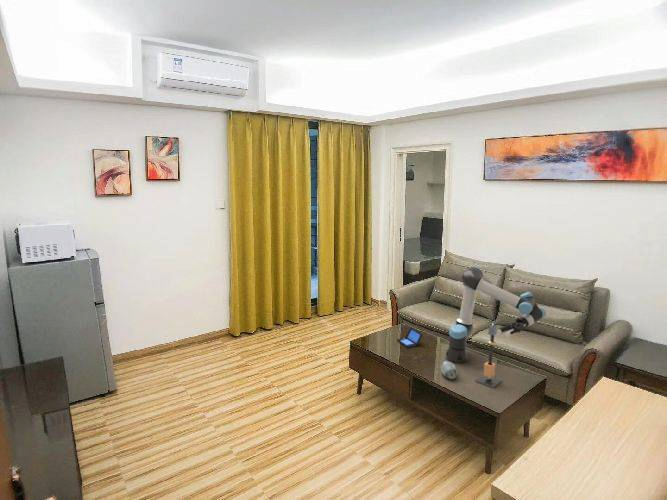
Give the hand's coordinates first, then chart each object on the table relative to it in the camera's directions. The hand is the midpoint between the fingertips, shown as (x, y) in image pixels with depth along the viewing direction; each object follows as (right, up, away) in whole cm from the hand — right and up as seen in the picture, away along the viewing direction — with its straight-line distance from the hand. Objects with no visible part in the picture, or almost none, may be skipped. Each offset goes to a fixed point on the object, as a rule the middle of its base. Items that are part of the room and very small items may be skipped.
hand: (499, 335), depth 263 cm
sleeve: (-8, -25, -3) cm, 26 cm away
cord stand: (-8, -29, -2) cm, 30 cm away
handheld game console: (-48, -18, +54) cm, 74 cm away
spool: (-31, -27, +5) cm, 42 cm away
